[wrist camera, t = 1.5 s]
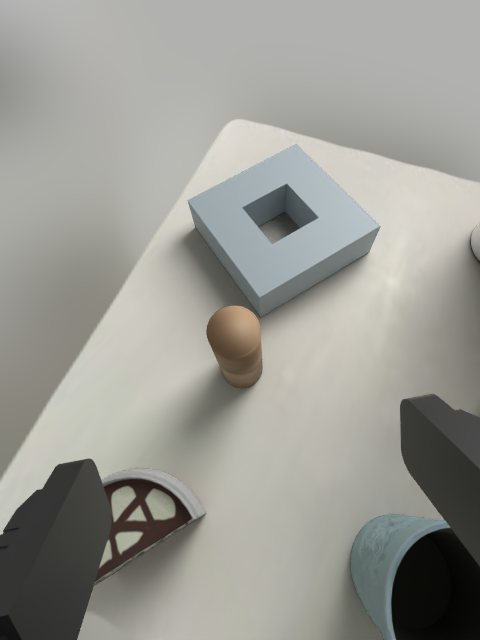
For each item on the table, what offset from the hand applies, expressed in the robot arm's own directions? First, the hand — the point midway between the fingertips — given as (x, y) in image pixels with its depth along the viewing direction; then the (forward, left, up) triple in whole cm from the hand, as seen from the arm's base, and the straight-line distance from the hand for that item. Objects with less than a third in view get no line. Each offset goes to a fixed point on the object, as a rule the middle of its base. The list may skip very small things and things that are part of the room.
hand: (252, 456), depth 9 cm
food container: (+11, -3, -28) cm, 30 cm away
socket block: (-17, -22, -28) cm, 39 cm away
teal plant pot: (-6, +13, -28) cm, 31 cm away
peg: (-4, -10, -28) cm, 30 cm away
